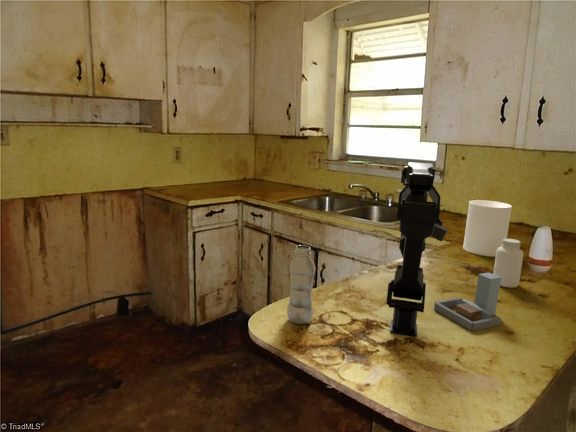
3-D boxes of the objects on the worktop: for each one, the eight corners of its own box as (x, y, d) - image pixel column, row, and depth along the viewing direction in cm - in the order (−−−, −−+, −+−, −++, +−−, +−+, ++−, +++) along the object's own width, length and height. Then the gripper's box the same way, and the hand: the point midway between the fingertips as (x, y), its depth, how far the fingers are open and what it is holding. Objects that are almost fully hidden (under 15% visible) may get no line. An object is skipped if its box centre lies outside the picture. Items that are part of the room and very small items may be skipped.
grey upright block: (486, 322, 113) (492, 283, 111) (460, 308, 121) (465, 271, 119) (502, 318, 116) (509, 280, 113) (476, 305, 124) (481, 269, 121)
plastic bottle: (297, 313, 114) (300, 241, 110) (317, 321, 110) (321, 247, 106) (281, 321, 109) (284, 247, 105) (302, 330, 105) (306, 253, 101)
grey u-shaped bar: (471, 331, 108) (472, 324, 108) (432, 308, 120) (433, 302, 120) (499, 324, 112) (500, 318, 112) (459, 303, 124) (460, 297, 124)
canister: (492, 245, 187) (499, 200, 182) (512, 256, 171) (520, 208, 167) (456, 244, 186) (462, 199, 182) (473, 255, 170) (480, 207, 166)
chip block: (469, 322, 113) (470, 312, 112) (454, 315, 117) (456, 304, 117) (480, 320, 115) (481, 310, 114) (465, 312, 119) (467, 302, 118)
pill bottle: (496, 277, 147) (503, 235, 144) (521, 284, 142) (529, 241, 138) (487, 283, 142) (494, 239, 138) (513, 290, 136) (521, 245, 133)
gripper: (450, 220, 102) (442, 281, 105) (444, 206, 119) (438, 259, 123) (402, 216, 105) (396, 275, 108) (403, 202, 122) (398, 254, 126)
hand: (409, 265), depth 116 cm, fingers open, 9 cm apart
